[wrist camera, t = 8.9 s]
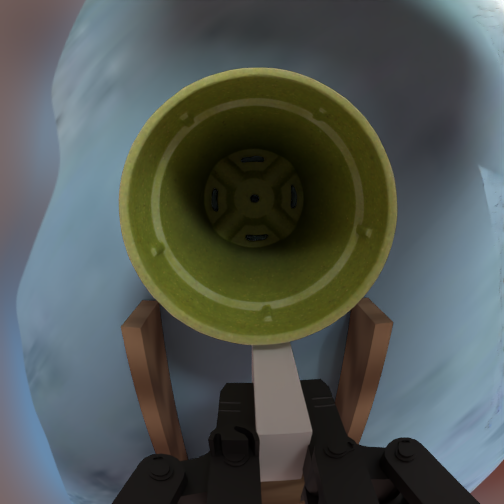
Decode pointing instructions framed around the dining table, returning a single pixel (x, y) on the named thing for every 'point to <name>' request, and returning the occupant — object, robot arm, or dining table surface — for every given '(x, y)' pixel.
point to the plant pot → (257, 206)
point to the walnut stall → (347, 399)
